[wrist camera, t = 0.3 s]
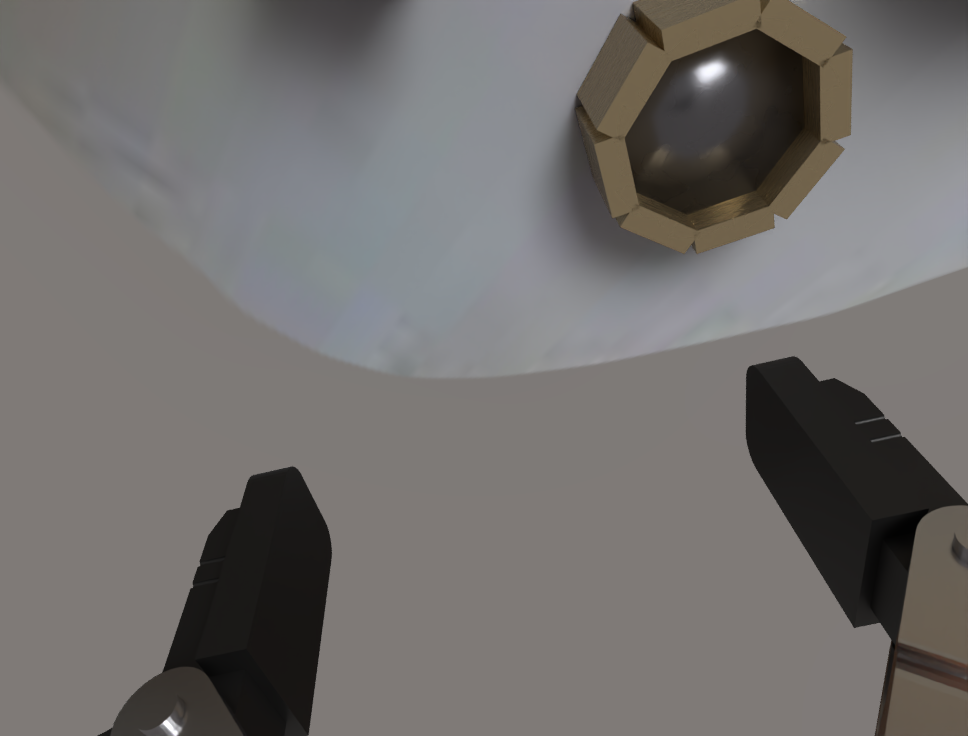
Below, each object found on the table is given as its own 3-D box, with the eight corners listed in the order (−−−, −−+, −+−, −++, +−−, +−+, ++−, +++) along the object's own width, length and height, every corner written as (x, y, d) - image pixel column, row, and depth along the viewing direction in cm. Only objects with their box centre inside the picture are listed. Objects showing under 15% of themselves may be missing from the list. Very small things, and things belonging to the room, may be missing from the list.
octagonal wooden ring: (667, -73, 26) (702, -53, 22) (854, 43, 29) (906, 74, 26) (540, 159, 31) (555, 200, 28) (710, 233, 35) (739, 276, 32)
